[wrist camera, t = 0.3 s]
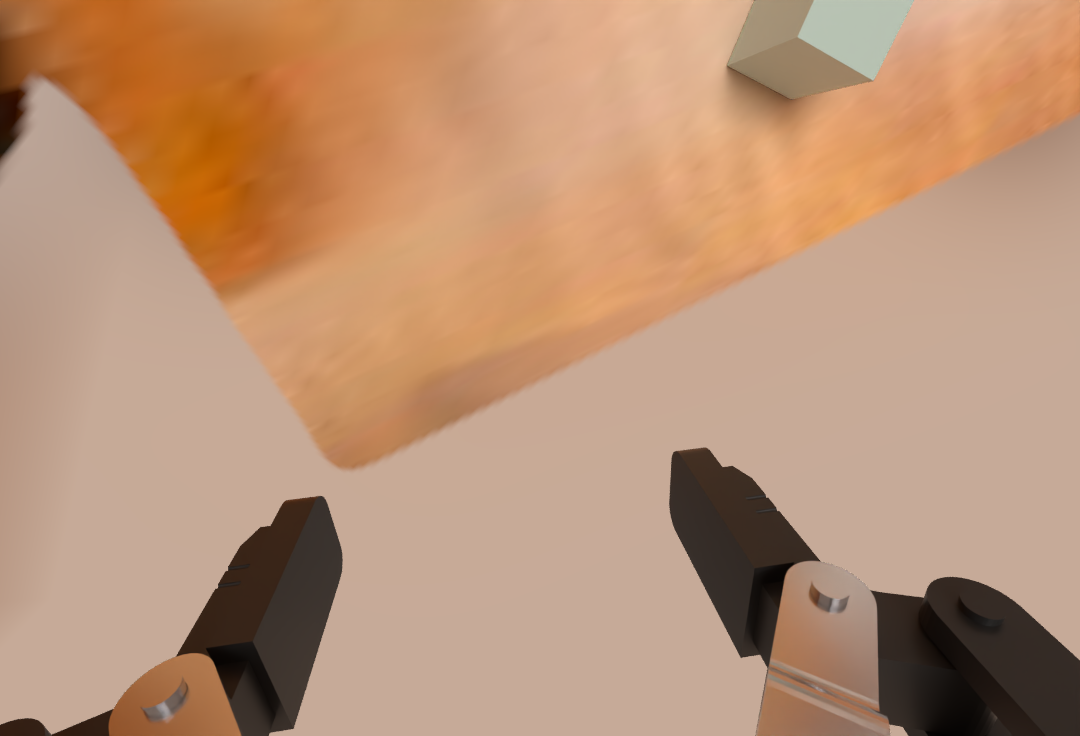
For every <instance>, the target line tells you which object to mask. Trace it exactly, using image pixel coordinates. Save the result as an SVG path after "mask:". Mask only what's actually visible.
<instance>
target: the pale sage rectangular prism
mask: <svg viewBox="0 0 1080 736" xmlns="http://www.w3.org/2000/svg"><path fill="white" fill-rule="evenodd" d="M913 1H914V0H754V2H753V5H752V7H751V9H750V12H749V14H748V17H747V19H746V21H745V24H744V26H743V28H742V31H741V33H740V36H739V38H738V40H737V43H736V45H735V47H734V50H733V52H732V55H731V57H730V59H729V62H728V64H727V66H729V67H730V68H732V69H734V70H736V71H738V72H740V73H742V74H744V75H746V76H747V77H749V78H751V79H753V80H755V81H757V82H759V83H761V84H763V85H764V86H766V87H768V88H770V89H772V90H774V91H776V92H778V93H780V94H781V95H783V96H785V97H787V98H789V99H791V100H792V99H797V98H801V97H805V96H810V95H814V94H818V93H823V92H827V91H831V90H836V89H840V88H845V87H849V86H853V85H858V84H862V83H866V82H871V81H874V79H875V77H876V75H877V73H878V71H879V69H880V67H881V65H882V63H883V61H884V59H885V57H886V55H887V53H888V51H889V49H890V47H891V45H892V43H893V41H894V39H895V37H896V35H897V33H898V31H899V29H900V27H901V25H902V23H903V21H904V19H905V17H906V15H907V13H908V11H909V9H910V7H911V5H912V3H913Z"/></svg>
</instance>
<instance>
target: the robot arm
mask: <svg viewBox="0 0 1080 736" xmlns="http://www.w3.org/2000/svg"><path fill="white" fill-rule="evenodd" d="M671 463H672V464H671V482H670V501H669V505H670V514H671V519H672V522H673V526H674V528H675V531H676V533H677V535H678V537H679V539H680V540H681V542H682V544H683V546H684V548H685V550H686V552H687V554H688V556H689V558H690V560H691V562H692V564H693V566H694V568H695V570H696V571H697V574H698V575H699V577H700V579H701V581H702V583H703V585H704V587H705V589H706V591H707V593H708V595H709V597H710V599H711V601H712V603H713V605H714V606H715V608H716V610H717V612H718V614H719V616H720V618H721V620H722V622H723V624H724V626H725V628H726V630H727V632H728V634H729V636H730V638H731V640H732V642H733V643H734V645H735V647H736V649H737V651H738V653H739V655H740V657H741V658H742V657H748V656H754V655H761V657H762V659H763V661H764V662H765V664H766V666H767V668H768V670H767V674H766V680H765V685H764V691H763V696H762V702H761V707H760V713H759V719H758V724H757V730H756V735H755V736H890V728H889V724H890V725H896V726H901V727H903V728H904V730H905V731H906V732H907V734H908V736H1080V660H1079V659H1078V658H1076V657H1075V656H1074V655H1073V654H1072V653H1071V652H1070V651H1069V650H1068V649H1067V648H1065V647H1064V646H1063V645H1062V644H1061V643H1060V642H1059V641H1058V640H1057V639H1056V638H1055V637H1053V636H1052V635H1051V634H1050V633H1049V632H1048V631H1047V630H1046V629H1044V627H1043V626H1041V625H1040V624H1039V623H1038V622H1037V621H1036V620H1035V619H1034V618H1032V616H1030V615H1029V614H1028V613H1027V612H1026V611H1025V610H1024V609H1023V608H1022V607H1021V606H1019V605H1018V604H1017V603H1016V602H1014V601H1013V600H1012V599H1010V598H1009V597H1007V596H1006V595H1004V594H1002V593H1001V592H999V591H997V590H995V589H993V588H991V587H989V586H987V585H984V584H982V583H979V582H976V581H972V580H969V579H964V578H958V577H944V578H940V579H937V580H934V581H933V582H932V583H930V585H929V586H928V588H927V591H926V594H925V596H924V598H922V597H913V596H905V595H898V594H890V593H882V592H876V591H871V590H870V589H869V588H868V587H867V586H866V585H865V584H864V583H863V582H862V581H861V580H860V579H859V578H857V577H856V576H854V575H853V574H852V573H850V572H848V571H847V570H845V569H843V568H840V567H838V566H835V565H833V564H829V563H825V562H821V561H820V560H819V559H818V558H817V556H816V555H815V554H814V553H813V552H812V550H811V549H810V548H809V547H808V546H807V545H806V543H805V542H804V541H803V539H802V538H801V537H800V536H799V535H798V533H797V532H796V531H795V530H794V529H793V527H792V526H791V525H790V524H789V522H788V521H787V520H786V519H785V518H784V516H783V515H782V514H781V513H780V512H779V511H777V509H776V507H775V506H774V504H773V503H772V502H771V501H770V499H769V498H766V495H765V493H764V492H763V491H762V490H761V488H760V487H759V486H758V485H757V484H756V482H755V481H754V480H753V479H752V478H751V477H749V476H748V475H746V474H744V473H743V472H741V471H740V470H738V469H736V468H735V467H733V466H729V467H722V466H721V465H720V463H719V462H718V461H717V459H716V458H715V457H714V455H713V454H712V453H711V451H710V450H708V449H707V448H698V449H690V450H683V451H675V452H674V453H673V455H672V462H671ZM341 573H342V550H341V546H340V542H339V539H338V536H337V533H336V530H335V527H334V523H333V521H332V517H331V514H330V511H329V508H328V504H327V502H326V500H325V499H324V497H322V496H316V497H309V498H302V499H293V500H286V501H285V502H284V503H283V504H282V506H281V508H280V509H279V511H278V513H277V515H276V517H275V519H274V521H273V523H272V524H271V526H267V527H260V528H259V529H258V530H257V531H256V532H255V533H254V534H253V535H252V536H251V537H250V538H249V539H248V540H247V541H245V542H244V543H243V544H242V545H241V546H240V548H239V549H238V551H237V553H236V554H235V556H234V558H233V560H232V561H231V563H230V565H229V566H228V571H226V572H225V573H224V575H223V577H222V579H221V580H220V582H219V584H218V589H215V591H214V592H213V594H212V596H211V597H210V599H209V601H208V603H207V604H206V606H205V608H204V609H203V611H202V613H201V615H200V616H199V618H198V620H197V621H196V623H195V625H194V627H193V628H192V630H191V632H190V633H189V635H188V637H187V639H186V640H185V642H184V644H183V645H182V647H181V649H180V651H179V652H178V654H177V656H176V657H174V658H171V659H169V660H167V661H164V662H163V663H161V664H159V665H157V666H155V667H154V668H152V669H151V670H149V671H148V672H147V673H145V674H144V675H142V676H141V677H140V678H139V679H138V680H137V681H135V682H134V684H132V685H131V686H130V687H129V688H128V689H127V691H126V692H125V693H124V694H123V695H122V697H121V698H120V699H119V701H118V702H117V704H116V706H115V707H114V709H112V710H110V711H107V712H105V713H103V714H100V715H98V716H96V717H93V718H91V719H88V720H86V721H84V722H81V723H79V724H76V725H74V726H72V727H69V728H67V729H65V730H62V731H60V732H57V733H55V734H52V735H51V734H50V733H49V731H48V730H47V729H46V728H45V726H44V725H43V724H42V723H41V722H39V721H38V720H35V719H29V718H25V719H17V720H14V721H10V722H7V723H4V724H1V725H0V736H269V733H271V732H276V731H283V730H288V729H293V728H294V725H295V722H296V719H297V716H298V712H299V709H300V706H301V703H302V700H303V696H304V693H305V690H306V687H307V683H308V680H309V677H310V674H311V671H312V667H313V664H314V661H315V658H316V654H317V651H318V648H319V645H320V642H321V638H322V635H323V632H324V629H325V626H326V622H327V619H328V616H329V612H330V610H331V606H332V603H333V600H334V597H335V593H336V590H337V587H338V584H339V580H340V577H341Z"/></svg>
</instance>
